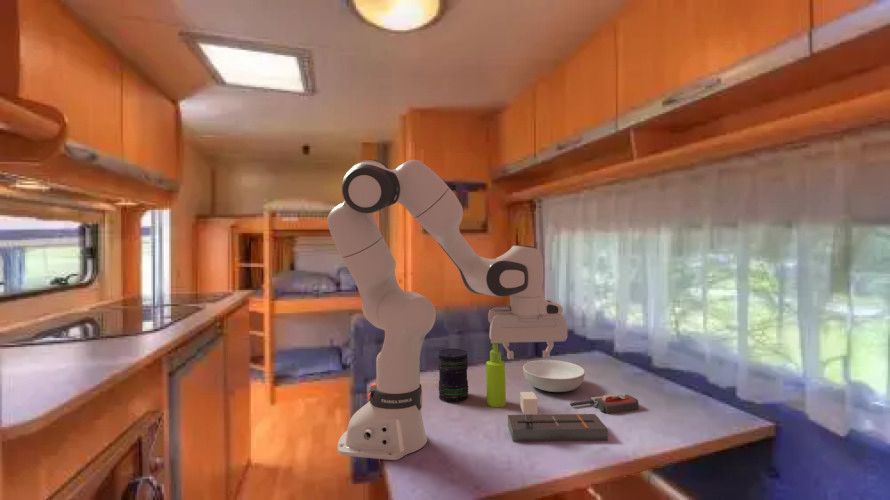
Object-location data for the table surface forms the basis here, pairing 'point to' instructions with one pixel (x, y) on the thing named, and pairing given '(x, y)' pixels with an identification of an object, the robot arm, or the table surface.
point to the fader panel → (557, 428)
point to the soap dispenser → (495, 378)
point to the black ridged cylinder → (453, 375)
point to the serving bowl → (554, 375)
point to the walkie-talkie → (612, 403)
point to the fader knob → (528, 405)
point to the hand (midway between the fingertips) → (528, 358)
